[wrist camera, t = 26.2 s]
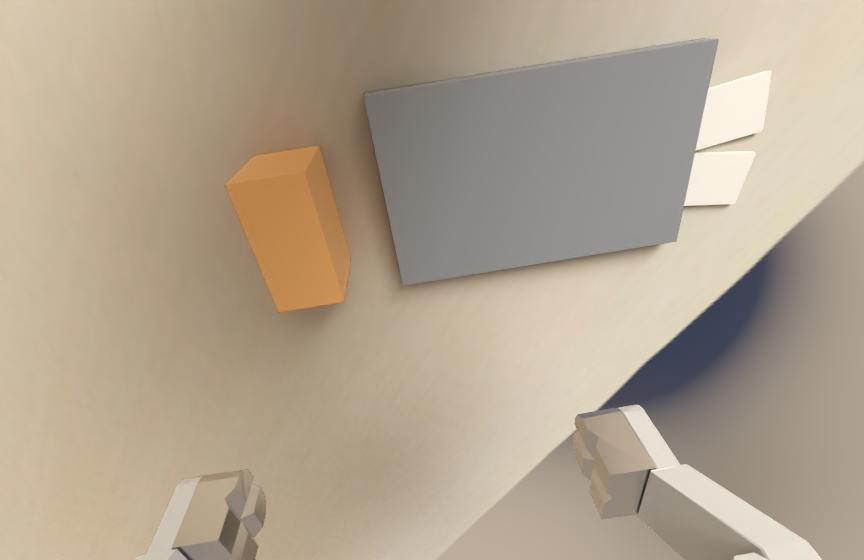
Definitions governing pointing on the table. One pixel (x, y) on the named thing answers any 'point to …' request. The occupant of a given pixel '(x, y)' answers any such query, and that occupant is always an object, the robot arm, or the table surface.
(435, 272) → the board
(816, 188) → the table surface
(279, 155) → the block
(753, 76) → the mark
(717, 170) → the mark
